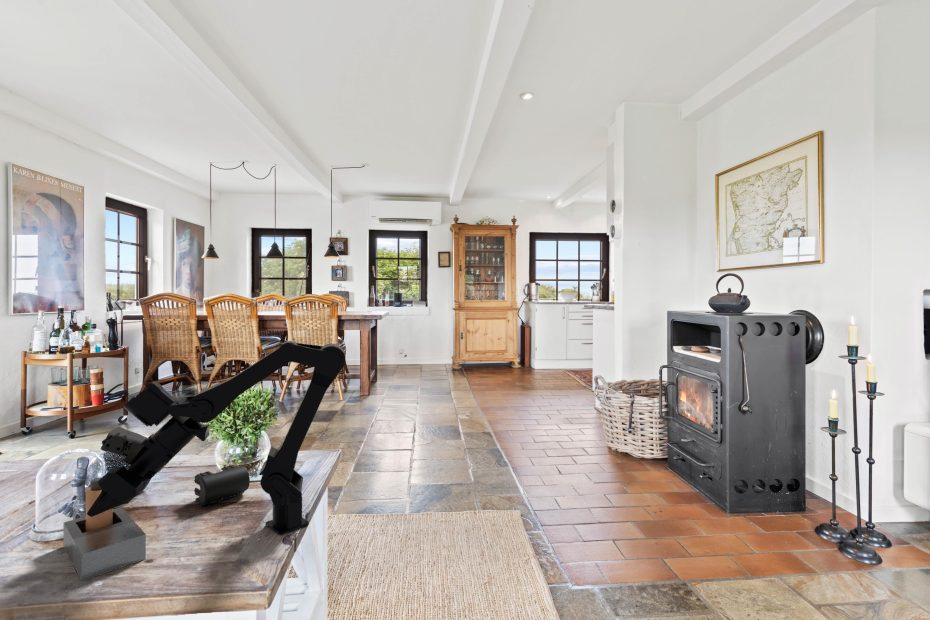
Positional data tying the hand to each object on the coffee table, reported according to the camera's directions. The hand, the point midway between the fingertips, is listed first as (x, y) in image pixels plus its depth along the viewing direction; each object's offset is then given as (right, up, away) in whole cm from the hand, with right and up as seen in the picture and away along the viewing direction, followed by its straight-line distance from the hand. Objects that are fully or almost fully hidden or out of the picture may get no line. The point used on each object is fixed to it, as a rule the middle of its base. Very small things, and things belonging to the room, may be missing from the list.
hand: (101, 504), depth 88 cm
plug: (0, -8, 0) cm, 8 cm away
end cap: (+11, -8, +21) cm, 26 cm away
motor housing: (+2, -8, -2) cm, 9 cm away
